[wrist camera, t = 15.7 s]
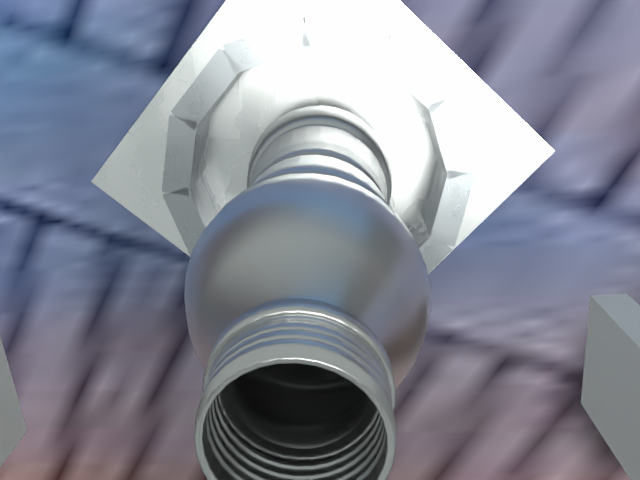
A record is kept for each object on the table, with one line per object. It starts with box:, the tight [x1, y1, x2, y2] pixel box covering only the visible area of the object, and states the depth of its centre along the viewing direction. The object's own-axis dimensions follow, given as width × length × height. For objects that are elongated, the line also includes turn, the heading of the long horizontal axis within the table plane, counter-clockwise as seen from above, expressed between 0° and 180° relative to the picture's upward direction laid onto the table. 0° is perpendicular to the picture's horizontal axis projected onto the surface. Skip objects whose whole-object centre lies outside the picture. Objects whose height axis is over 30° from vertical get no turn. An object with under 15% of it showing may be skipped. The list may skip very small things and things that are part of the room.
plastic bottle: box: [184, 105, 431, 480], centre depth 20 cm, size 6×7×20 cm
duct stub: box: [91, 0, 555, 274], centre depth 28 cm, size 16×16×4 cm
